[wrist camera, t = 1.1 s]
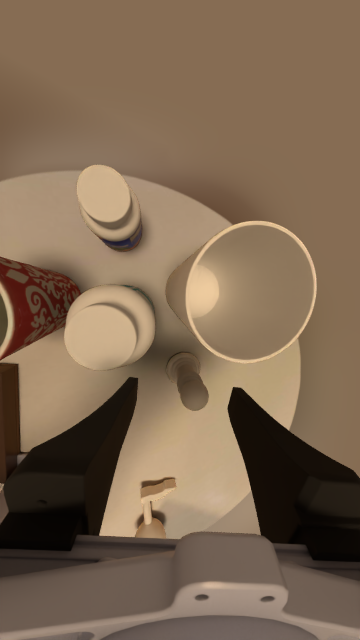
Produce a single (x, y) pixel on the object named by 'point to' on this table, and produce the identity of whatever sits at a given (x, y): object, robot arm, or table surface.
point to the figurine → (150, 493)
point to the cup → (245, 291)
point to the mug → (31, 304)
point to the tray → (9, 420)
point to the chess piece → (188, 380)
